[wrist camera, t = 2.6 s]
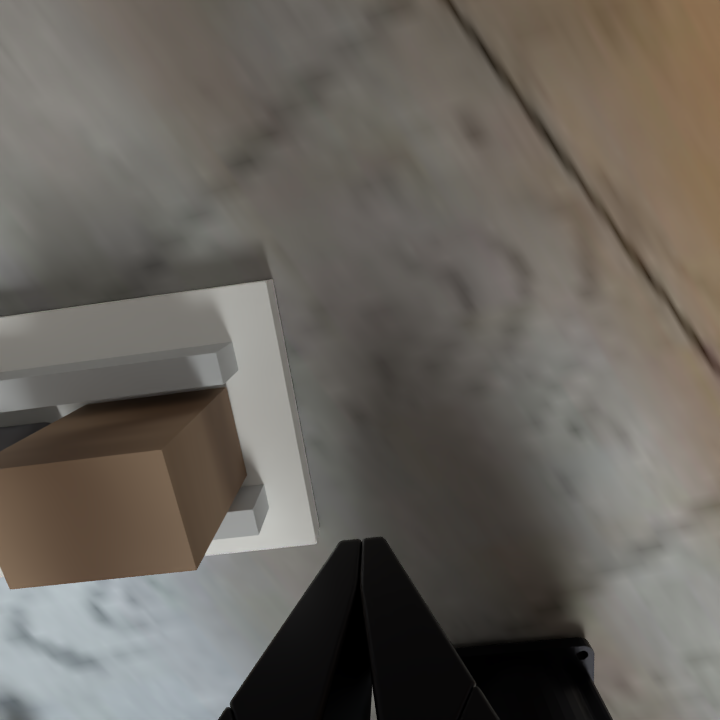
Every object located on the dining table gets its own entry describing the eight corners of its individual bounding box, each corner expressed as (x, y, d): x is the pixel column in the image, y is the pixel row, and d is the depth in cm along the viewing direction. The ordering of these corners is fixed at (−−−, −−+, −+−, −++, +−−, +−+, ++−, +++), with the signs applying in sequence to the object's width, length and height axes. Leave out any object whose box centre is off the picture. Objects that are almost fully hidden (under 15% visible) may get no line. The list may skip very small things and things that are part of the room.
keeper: (226, 387, 14) (161, 449, 9) (247, 475, 15) (196, 570, 10) (85, 404, 14) (-41, 473, 10) (114, 490, 15) (10, 589, 10)
